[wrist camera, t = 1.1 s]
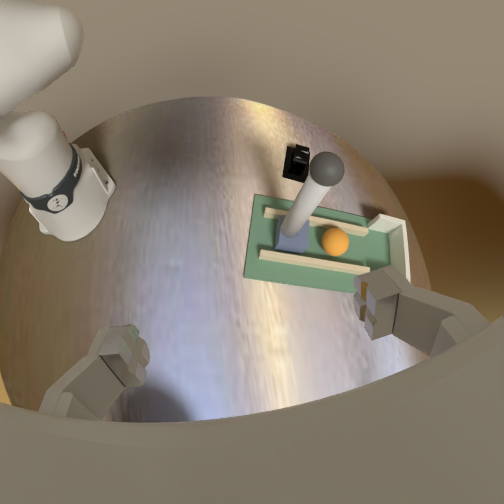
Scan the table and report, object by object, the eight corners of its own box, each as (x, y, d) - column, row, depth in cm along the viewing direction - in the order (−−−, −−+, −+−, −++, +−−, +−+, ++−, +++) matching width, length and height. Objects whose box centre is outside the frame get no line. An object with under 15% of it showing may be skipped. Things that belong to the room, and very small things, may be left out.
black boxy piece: (309, 192, 54) (317, 180, 50) (275, 183, 53) (280, 170, 49) (313, 149, 58) (319, 136, 54) (282, 140, 58) (287, 127, 53)
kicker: (271, 248, 47) (316, 172, 26) (274, 222, 49) (315, 137, 28) (302, 253, 47) (364, 185, 26) (303, 228, 49) (359, 150, 28)
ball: (312, 242, 49) (322, 231, 44) (331, 230, 50) (342, 218, 46) (327, 264, 48) (339, 255, 43) (346, 251, 49) (358, 241, 45)
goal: (256, 270, 46) (262, 261, 41) (264, 203, 50) (270, 188, 46) (395, 289, 48) (410, 283, 44) (391, 230, 53) (405, 220, 48)
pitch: (243, 277, 46) (243, 276, 45) (254, 195, 51) (255, 194, 51) (397, 298, 48) (399, 297, 48) (393, 226, 54) (394, 225, 53)
